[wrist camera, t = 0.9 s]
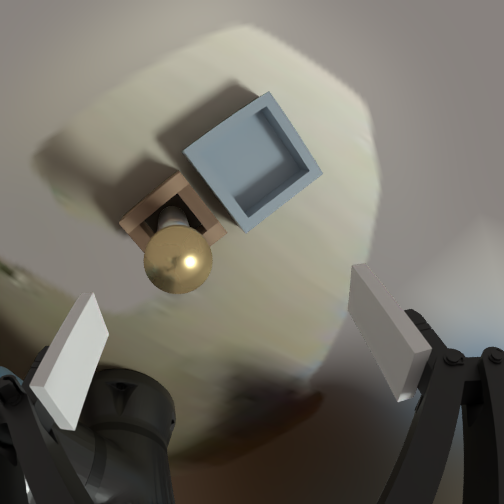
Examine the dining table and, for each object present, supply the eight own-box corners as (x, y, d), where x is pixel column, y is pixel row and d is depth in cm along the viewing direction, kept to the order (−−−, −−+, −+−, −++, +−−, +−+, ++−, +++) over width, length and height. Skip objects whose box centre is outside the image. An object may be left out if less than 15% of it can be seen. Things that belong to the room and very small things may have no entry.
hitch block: (167, 267, 37) (168, 280, 33) (123, 215, 34) (118, 223, 30) (220, 224, 37) (227, 232, 34) (178, 170, 34) (180, 171, 31)
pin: (169, 249, 37) (174, 306, 23) (142, 217, 35) (129, 258, 21) (201, 222, 37) (226, 265, 23) (175, 190, 35) (183, 213, 21)
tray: (238, 226, 38) (245, 233, 35) (181, 151, 34) (183, 150, 31) (309, 171, 38) (323, 173, 35) (259, 96, 34) (269, 91, 31)
